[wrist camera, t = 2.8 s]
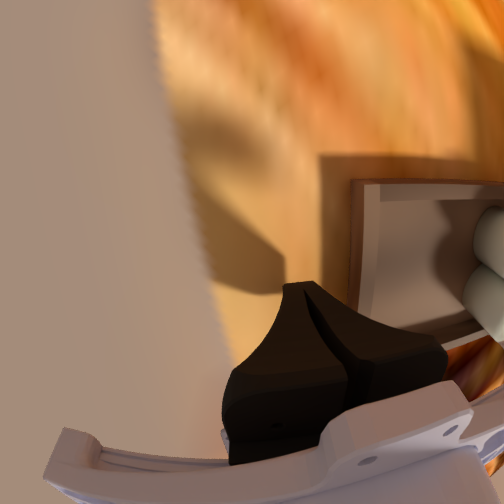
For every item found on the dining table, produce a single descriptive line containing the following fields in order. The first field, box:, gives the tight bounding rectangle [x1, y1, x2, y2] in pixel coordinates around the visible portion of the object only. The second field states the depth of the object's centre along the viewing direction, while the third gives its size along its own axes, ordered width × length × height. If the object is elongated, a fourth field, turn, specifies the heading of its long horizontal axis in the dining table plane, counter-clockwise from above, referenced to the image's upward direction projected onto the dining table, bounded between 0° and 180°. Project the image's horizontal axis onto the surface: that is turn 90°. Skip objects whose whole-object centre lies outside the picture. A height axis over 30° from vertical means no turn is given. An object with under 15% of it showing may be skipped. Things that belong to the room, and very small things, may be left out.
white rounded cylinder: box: [462, 264, 504, 342], centre depth 12 cm, size 4×4×4 cm
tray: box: [347, 178, 504, 351], centre depth 13 cm, size 10×14×2 cm
